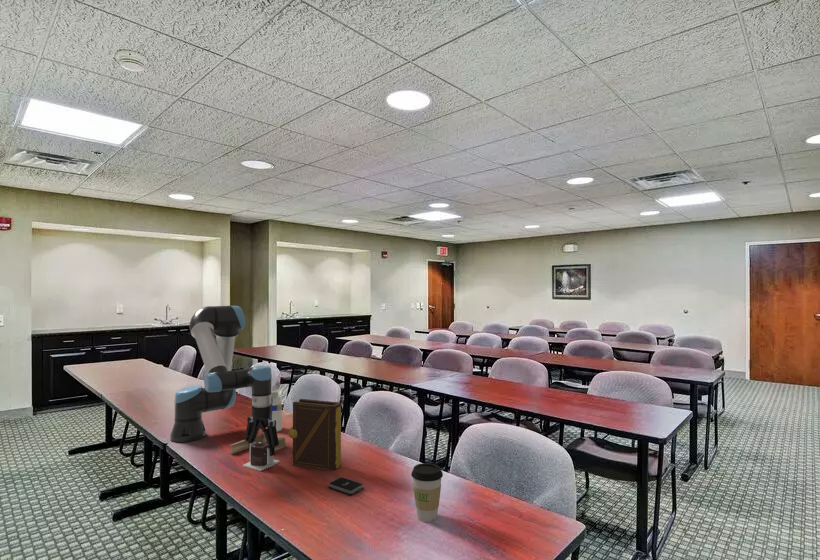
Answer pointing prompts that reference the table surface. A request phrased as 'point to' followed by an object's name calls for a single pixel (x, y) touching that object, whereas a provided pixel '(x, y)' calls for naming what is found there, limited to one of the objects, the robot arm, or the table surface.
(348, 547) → the table surface
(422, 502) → the coffee cup
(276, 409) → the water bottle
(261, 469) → the tile
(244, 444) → the wooden frame
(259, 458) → the box
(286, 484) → the table surface
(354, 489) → the external hard drive
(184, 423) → the robot arm
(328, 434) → the book
